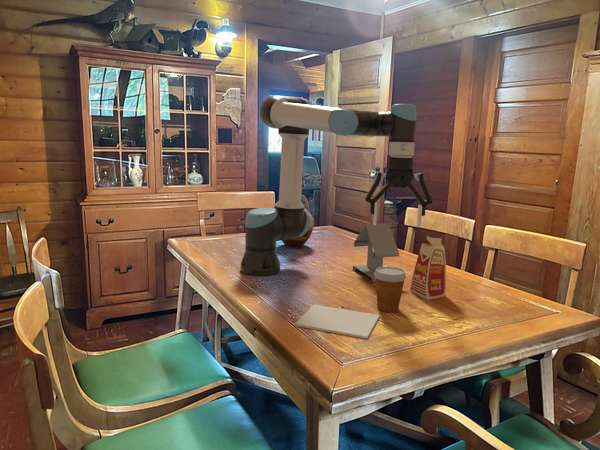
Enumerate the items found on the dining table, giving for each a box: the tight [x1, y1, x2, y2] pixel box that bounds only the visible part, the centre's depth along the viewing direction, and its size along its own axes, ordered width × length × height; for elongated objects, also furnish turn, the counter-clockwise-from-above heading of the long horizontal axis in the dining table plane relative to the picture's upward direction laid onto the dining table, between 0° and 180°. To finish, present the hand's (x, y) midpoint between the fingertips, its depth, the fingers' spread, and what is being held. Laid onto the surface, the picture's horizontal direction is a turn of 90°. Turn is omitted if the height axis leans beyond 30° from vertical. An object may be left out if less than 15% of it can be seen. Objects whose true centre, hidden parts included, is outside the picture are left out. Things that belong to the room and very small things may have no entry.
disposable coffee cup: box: [374, 266, 407, 313], centre depth 139 cm, size 10×10×12 cm
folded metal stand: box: [352, 222, 400, 284], centre depth 172 cm, size 18×10×20 cm, turn 17°
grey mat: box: [294, 304, 380, 340], centre depth 129 cm, size 20×16×1 cm
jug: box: [281, 181, 315, 249], centre depth 214 cm, size 20×18×30 cm
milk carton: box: [409, 235, 447, 301], centre depth 153 cm, size 9×9×20 cm
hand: (396, 225), depth 143 cm, fingers open, 13 cm apart
